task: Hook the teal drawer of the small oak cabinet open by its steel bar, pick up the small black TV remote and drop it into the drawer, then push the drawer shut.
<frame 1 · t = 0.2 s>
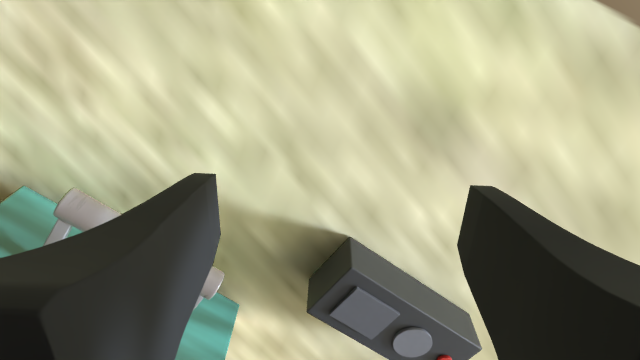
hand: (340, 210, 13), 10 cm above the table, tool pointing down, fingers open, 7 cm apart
drawer: (82, 333, 23), point 4 cm above the table, slide at 0.5 cm
remote: (390, 296, 27), on the table
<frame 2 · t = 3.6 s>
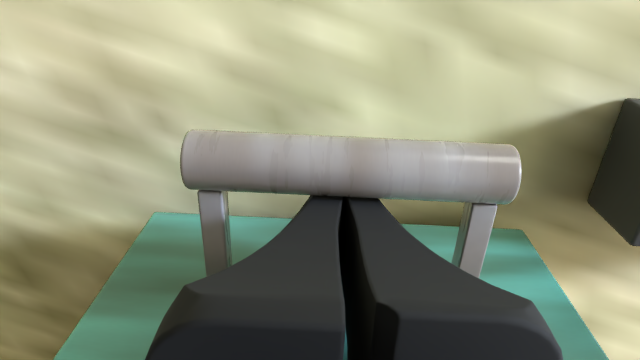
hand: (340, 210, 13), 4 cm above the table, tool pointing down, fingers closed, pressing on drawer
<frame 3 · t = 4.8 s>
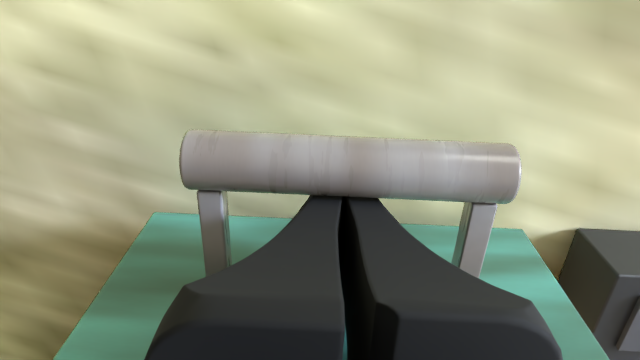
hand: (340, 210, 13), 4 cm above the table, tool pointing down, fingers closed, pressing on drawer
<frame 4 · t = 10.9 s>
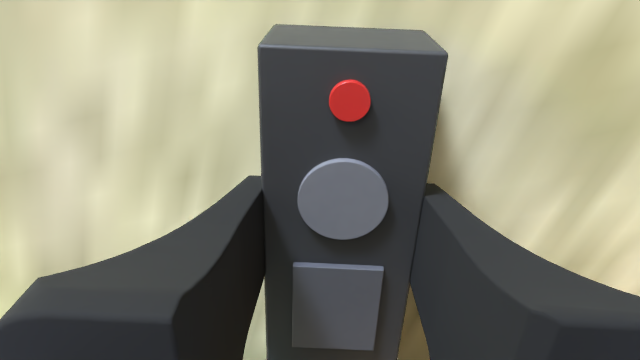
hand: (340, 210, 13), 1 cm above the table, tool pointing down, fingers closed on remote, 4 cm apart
remote: (338, 186, 14), on the table, touching gripper
when the fingers open (5 cm above the table, at t = 15.5 s): remote drops 2 cm, resting on drawer.
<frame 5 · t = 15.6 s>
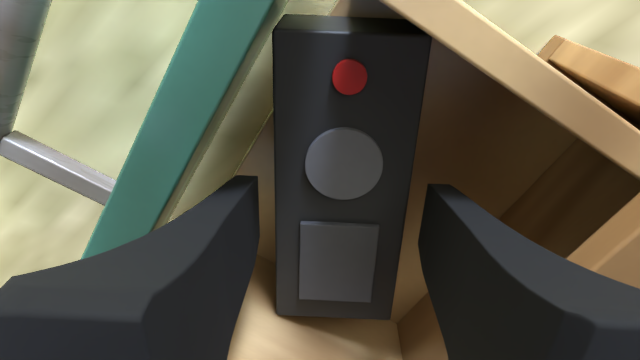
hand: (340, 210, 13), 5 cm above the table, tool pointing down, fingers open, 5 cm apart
drawer: (295, 166, 13), point 4 cm above the table, slide at 8.4 cm, touching remote
remote: (340, 159, 16), point 2 cm above the table, touching drawer
cabinet: (544, 260, 20), on the table
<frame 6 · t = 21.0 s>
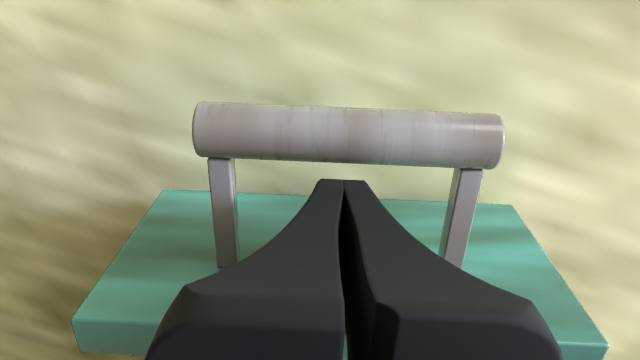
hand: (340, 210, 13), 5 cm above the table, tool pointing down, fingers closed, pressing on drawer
drawer: (331, 336, 16), point 4 cm above the table, slide at 7.3 cm, touching gripper, remote
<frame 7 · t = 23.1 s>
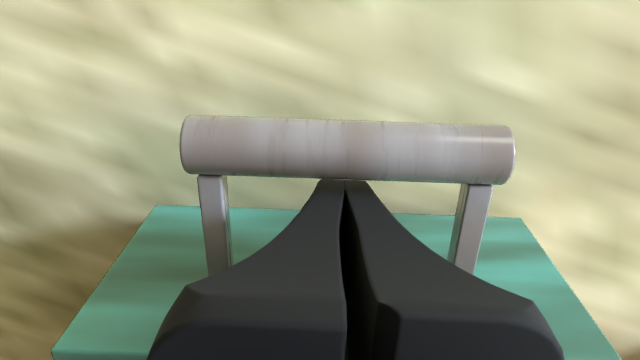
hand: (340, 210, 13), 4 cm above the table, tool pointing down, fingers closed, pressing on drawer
drawer: (332, 359, 15), point 4 cm above the table, slide at 0.0 cm, touching cabinet, gripper, remote
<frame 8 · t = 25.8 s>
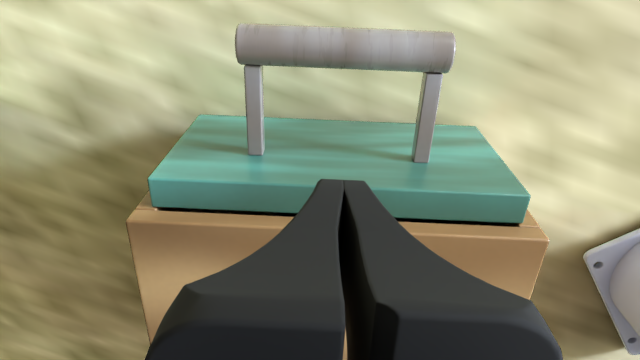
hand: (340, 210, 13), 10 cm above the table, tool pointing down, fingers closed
drawer: (333, 224, 20), point 4 cm above the table, slide at 0.0 cm, touching remote
cabinet: (329, 244, 26), on the table
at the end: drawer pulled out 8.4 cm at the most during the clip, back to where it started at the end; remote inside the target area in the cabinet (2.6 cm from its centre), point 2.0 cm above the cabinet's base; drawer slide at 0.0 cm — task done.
